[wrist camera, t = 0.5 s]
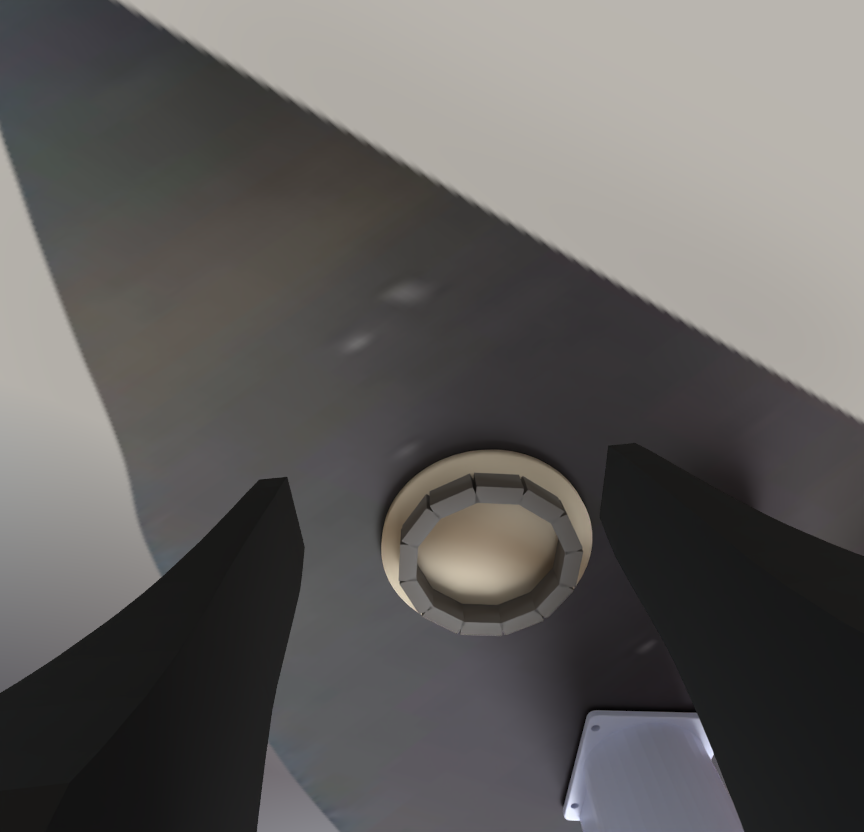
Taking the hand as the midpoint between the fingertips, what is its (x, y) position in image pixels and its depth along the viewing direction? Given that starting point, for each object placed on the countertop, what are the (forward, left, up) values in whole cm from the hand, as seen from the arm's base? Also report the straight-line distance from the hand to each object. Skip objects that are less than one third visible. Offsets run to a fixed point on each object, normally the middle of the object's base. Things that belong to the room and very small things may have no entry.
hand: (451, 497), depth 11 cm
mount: (-9, -3, -10) cm, 14 cm away
